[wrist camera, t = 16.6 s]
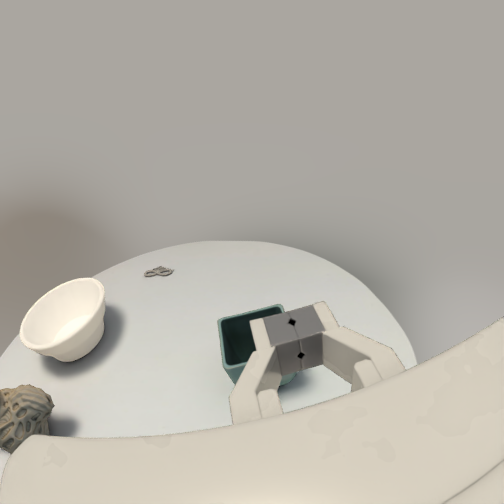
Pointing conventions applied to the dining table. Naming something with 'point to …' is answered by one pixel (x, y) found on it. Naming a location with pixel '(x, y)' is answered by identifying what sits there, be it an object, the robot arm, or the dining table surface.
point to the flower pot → (242, 341)
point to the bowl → (66, 320)
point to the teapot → (23, 415)
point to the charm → (158, 271)
